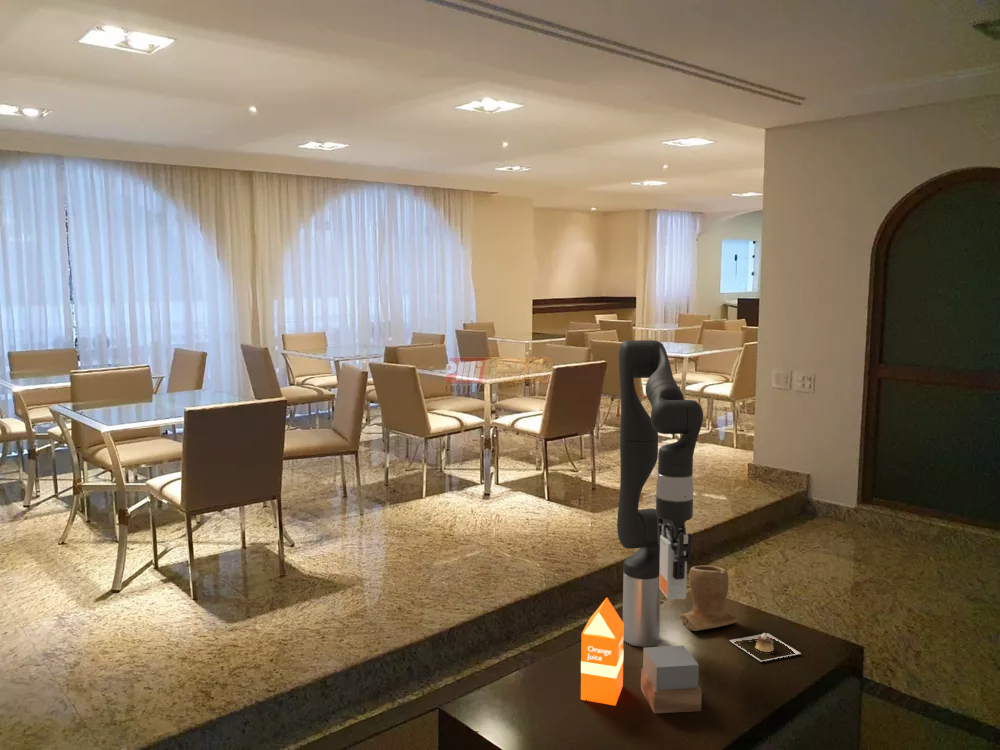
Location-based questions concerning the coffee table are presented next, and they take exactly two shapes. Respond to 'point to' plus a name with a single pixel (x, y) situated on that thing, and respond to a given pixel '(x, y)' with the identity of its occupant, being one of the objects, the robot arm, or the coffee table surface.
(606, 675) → the orange juice
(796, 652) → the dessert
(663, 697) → the walnut base block
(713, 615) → the stone cup
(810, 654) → the coffee table surface
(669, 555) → the skincare box
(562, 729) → the coffee table surface
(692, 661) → the gray top block
